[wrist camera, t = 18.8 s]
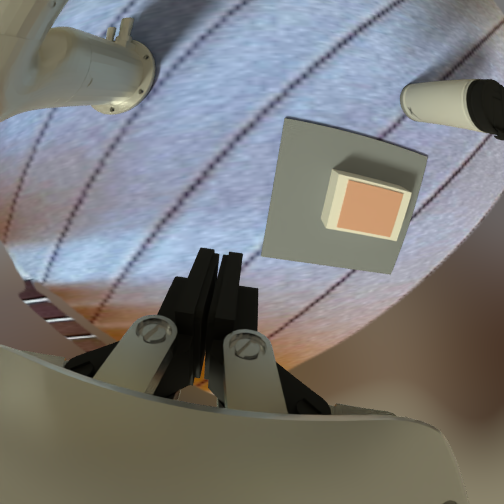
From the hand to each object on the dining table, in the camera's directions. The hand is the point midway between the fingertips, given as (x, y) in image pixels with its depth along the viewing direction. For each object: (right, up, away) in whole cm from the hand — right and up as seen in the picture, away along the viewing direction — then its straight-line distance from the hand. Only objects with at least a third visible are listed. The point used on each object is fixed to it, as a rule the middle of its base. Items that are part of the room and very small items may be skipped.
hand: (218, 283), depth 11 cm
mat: (+16, +9, +31) cm, 36 cm away
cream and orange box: (+12, +9, +28) cm, 32 cm away
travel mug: (+27, +24, +23) cm, 43 cm away
